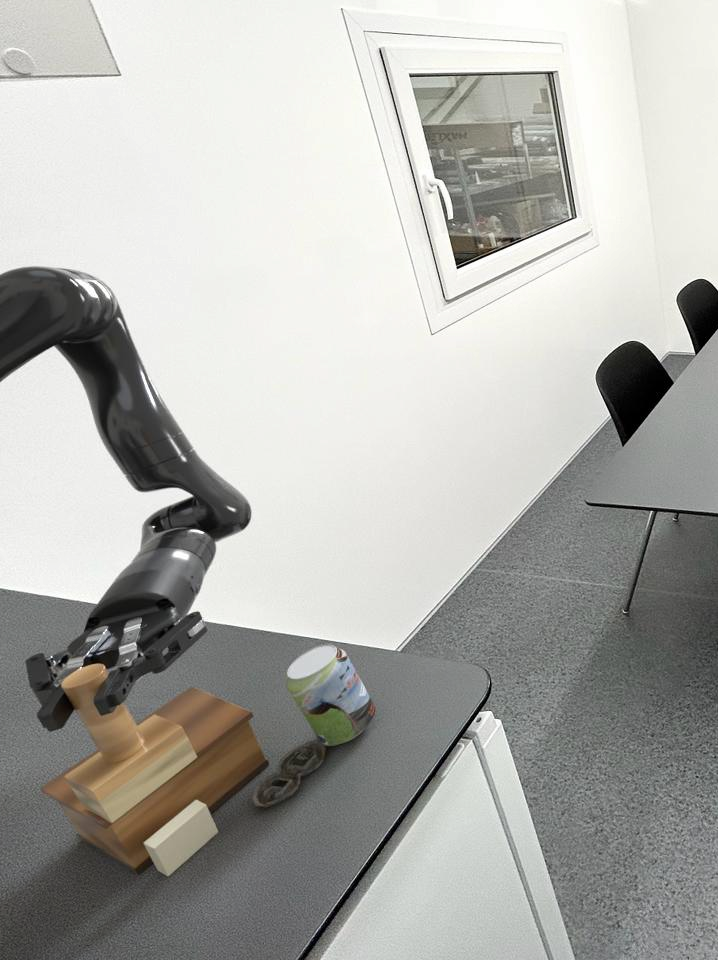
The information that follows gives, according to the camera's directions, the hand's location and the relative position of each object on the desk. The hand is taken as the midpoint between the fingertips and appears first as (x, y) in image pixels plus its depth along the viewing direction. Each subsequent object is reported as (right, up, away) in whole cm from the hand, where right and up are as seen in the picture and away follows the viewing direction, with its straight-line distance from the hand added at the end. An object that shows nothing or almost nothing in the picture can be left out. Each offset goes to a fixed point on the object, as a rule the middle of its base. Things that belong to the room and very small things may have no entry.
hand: (77, 714), depth 57 cm
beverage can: (+9, -15, +21) cm, 27 cm away
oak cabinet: (-4, -18, +14) cm, 23 cm away
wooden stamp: (-1, -11, +7) cm, 13 cm away
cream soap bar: (+1, -17, +8) cm, 19 cm away
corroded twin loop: (+7, -17, +16) cm, 24 cm away
